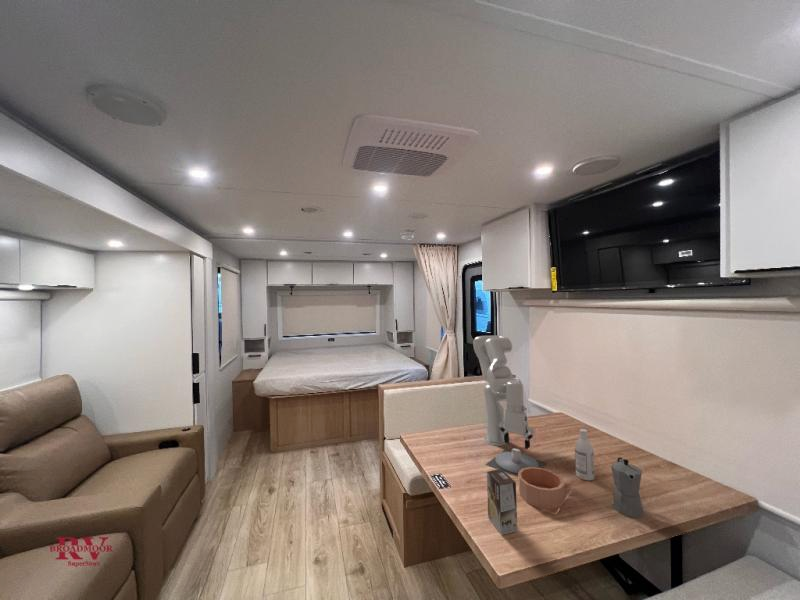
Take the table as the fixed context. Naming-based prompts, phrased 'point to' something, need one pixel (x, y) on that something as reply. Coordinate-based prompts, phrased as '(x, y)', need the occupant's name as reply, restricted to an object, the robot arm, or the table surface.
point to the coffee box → (502, 501)
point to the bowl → (541, 488)
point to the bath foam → (584, 457)
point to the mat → (494, 465)
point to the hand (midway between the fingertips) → (516, 445)
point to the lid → (515, 461)
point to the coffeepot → (627, 488)
